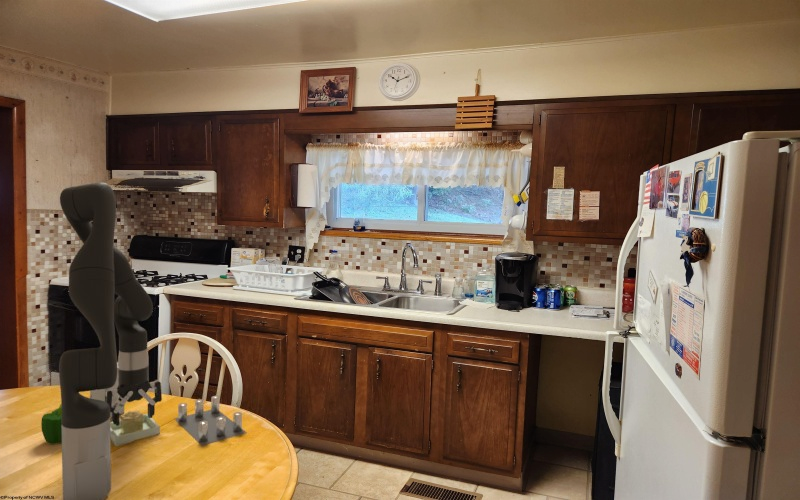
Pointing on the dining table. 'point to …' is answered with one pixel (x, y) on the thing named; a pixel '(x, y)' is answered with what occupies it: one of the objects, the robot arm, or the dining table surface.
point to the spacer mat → (193, 427)
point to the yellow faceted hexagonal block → (131, 422)
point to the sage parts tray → (148, 430)
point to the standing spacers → (204, 424)
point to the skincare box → (101, 395)
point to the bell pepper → (52, 426)
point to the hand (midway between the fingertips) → (133, 420)
